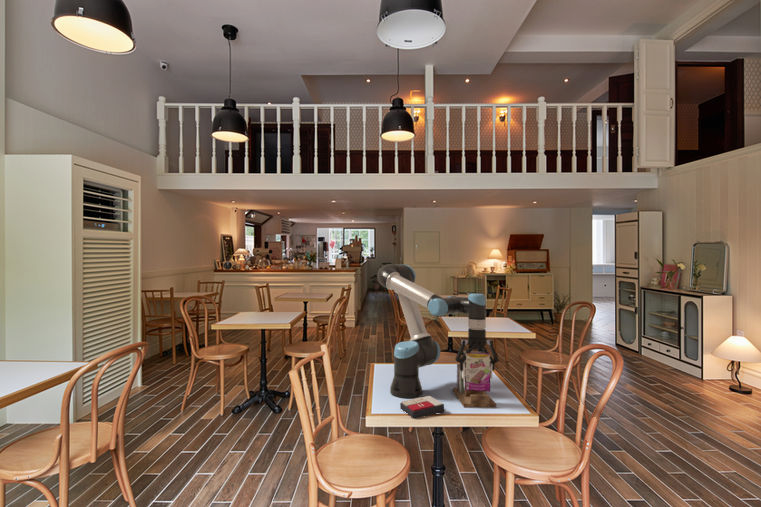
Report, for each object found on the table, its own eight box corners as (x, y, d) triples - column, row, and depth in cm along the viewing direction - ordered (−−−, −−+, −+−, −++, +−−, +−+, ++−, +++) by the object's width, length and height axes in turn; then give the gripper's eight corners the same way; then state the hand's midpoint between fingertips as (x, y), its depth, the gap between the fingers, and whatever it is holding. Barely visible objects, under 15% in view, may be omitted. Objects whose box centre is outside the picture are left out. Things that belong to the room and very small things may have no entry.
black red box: (399, 400, 155) (429, 394, 161) (400, 411, 155) (430, 403, 161) (412, 410, 145) (444, 402, 151) (413, 421, 145) (444, 413, 151)
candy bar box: (464, 391, 160) (464, 353, 161) (463, 387, 165) (463, 350, 166) (491, 392, 159) (490, 354, 160) (488, 388, 164) (488, 351, 165)
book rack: (464, 407, 157) (464, 374, 157) (452, 390, 178) (452, 361, 178) (496, 407, 157) (496, 374, 158) (481, 390, 178) (481, 361, 179)
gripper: (452, 329, 159) (452, 380, 158) (506, 330, 160) (506, 380, 159) (448, 326, 166) (448, 375, 166) (500, 327, 167) (500, 375, 166)
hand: (477, 377), depth 162 cm, fingers closed on candy bar box, 11 cm apart
